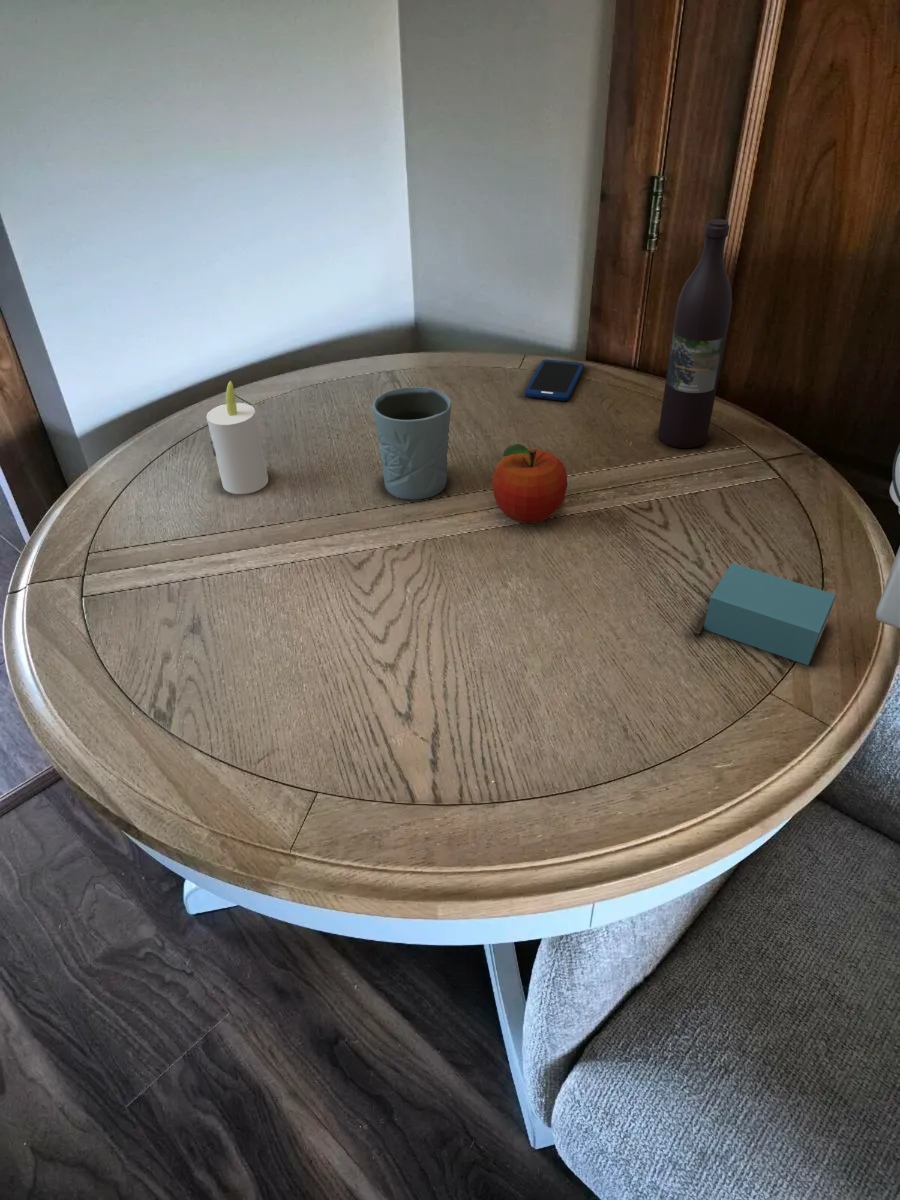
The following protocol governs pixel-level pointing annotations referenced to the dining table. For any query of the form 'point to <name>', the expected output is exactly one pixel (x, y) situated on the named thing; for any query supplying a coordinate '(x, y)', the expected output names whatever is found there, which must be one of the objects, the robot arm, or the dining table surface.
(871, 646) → the dining table surface
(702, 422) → the wine bottle
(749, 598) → the teal labeled box
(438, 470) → the blue grey cup
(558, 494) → the fruit
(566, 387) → the cell phone
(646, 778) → the dining table surface
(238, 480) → the candle
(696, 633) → the stop strip
